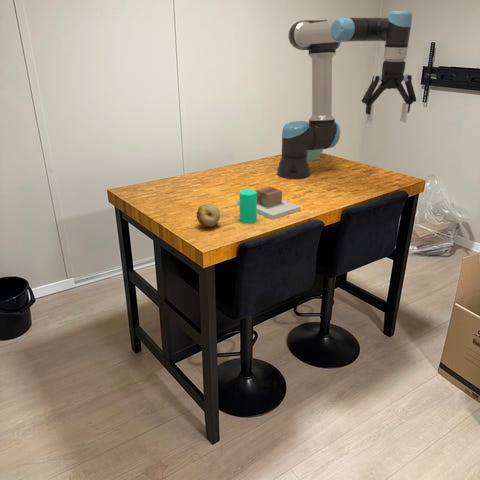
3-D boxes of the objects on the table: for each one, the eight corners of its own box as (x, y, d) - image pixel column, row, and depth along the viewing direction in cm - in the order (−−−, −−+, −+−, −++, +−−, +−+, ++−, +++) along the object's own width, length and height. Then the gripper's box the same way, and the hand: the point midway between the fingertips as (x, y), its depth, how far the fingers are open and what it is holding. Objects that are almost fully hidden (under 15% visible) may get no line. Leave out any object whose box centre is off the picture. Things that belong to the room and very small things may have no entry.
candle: (238, 217, 165) (238, 185, 160) (255, 216, 166) (256, 184, 161) (240, 223, 160) (240, 190, 155) (257, 223, 160) (258, 190, 155)
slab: (237, 204, 177) (237, 200, 177) (264, 196, 185) (264, 192, 184) (272, 219, 163) (272, 215, 162) (300, 210, 171) (300, 206, 170)
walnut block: (255, 202, 174) (255, 190, 172) (269, 198, 178) (269, 186, 176) (267, 207, 169) (267, 194, 167) (281, 203, 173) (282, 190, 171)
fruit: (193, 229, 155) (192, 207, 152) (204, 220, 162) (203, 199, 159) (214, 232, 153) (213, 210, 149) (224, 223, 160) (223, 201, 156)
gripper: (366, 61, 154) (359, 126, 163) (433, 60, 159) (422, 123, 168) (356, 60, 161) (350, 122, 170) (420, 59, 166) (411, 119, 175)
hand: (386, 122), depth 169 cm, fingers open, 13 cm apart
